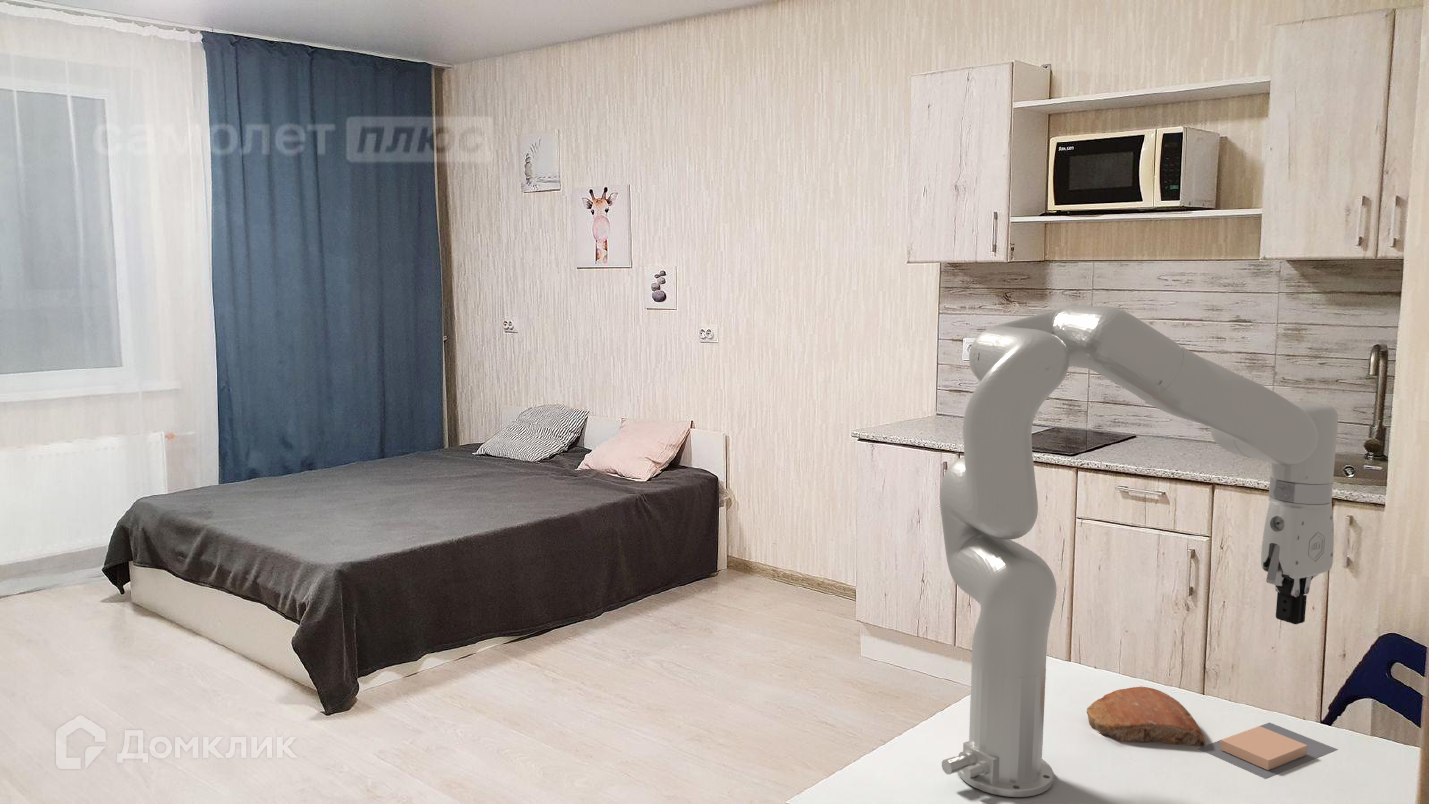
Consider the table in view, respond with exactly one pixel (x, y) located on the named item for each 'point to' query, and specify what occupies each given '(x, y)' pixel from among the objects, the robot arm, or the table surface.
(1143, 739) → the ceramic shard
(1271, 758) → the tile
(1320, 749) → the mat
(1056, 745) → the table surface
